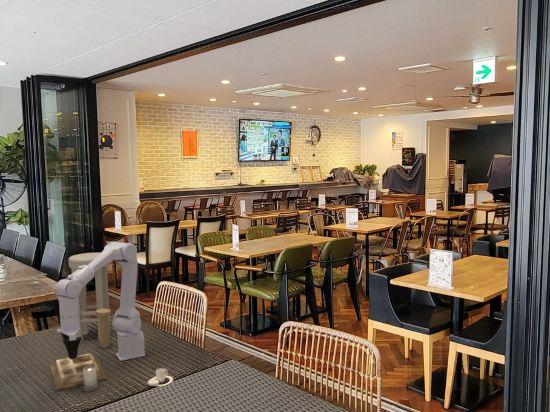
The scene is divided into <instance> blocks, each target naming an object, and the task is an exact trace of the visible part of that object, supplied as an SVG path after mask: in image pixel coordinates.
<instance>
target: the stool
mask: <svg viewBox="0 0 550 412" xmlns="http://www.w3.org/2000/svg"><path fill="white" fill-rule="evenodd" d="M100 253H101V252H85V253H79V254H74V255H71V256H69V258H68V268H70V270H71V274H72V273H74V272H75V271H76V270H77V269H78V267H79V266H82V265H89V264H90V263H91V262H92V261H93V260H94V259H95V258H96V257H97V256H98V255H99V254H100ZM110 262H111V261H109V262H108V263H107V264H105V265H104V266H103V267H101V268H100V269H99V270H97V271H96V272H95V275H94V278H95V279H94V280H95V295H96V296H95V297H96V304H92V305H91V304H88V298H87V297H88V296H87V284H86V285H84V286H83V288H82V289H81V292H80V294H79V296H78V313H79V326H80V330H79V331H78V333H77V334H76V338H77V337H81V338H82V339H81V342H80V343H82V342H83V341H84V335H89V332H90V331H89V328H90V327H89V323H94V322H97V335H98V337H97V338H98V342H100V337H99V316H97V315H96V310H98V309H110V303H109V301H110V300H109V283H108V265H110V264H111V263H110ZM88 309H96V310H91V311H90V310H89V311H88ZM89 316H97V317H93V318H91V317H90V318H89ZM110 318H111V317H110V315H109V316H108V323H109V331H110V332H111V322H110V321H111V319H110Z"/></svg>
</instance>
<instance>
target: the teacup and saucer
mask: <svg viewBox="0 0 550 412" xmlns="http://www.w3.org/2000/svg"><path fill="white" fill-rule="evenodd" d="M166 378H167V379H168V380H169V381H168V382H166V383H164V384H160V383H163V382H164V381H165V379H166ZM173 382H174V378H173V377H172V376H170V375H168V369H165V368H157V369H156V370H155V376H154V377H152V378H150V379H149V380H148V381H147V384H148V386H150V387H163V386H167V385H170V384H171V383H173Z"/></svg>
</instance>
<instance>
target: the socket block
mask: <svg viewBox="0 0 550 412" xmlns="http://www.w3.org/2000/svg"><path fill="white" fill-rule="evenodd" d="M87 366H96V375H97V383H98V382H103V381H107V380H108V376H107V375H106V373H105V371H104V368H103V367H102V365H101V362H100V361H99V359H98V358H97V355H94V356H93V354H92V353H91V352H89V353H85V354H82V355H81V354H80V355H77V358H75V359H69V357H66V358H62V359H61V358H60V359H56V362H55V364H49V369H50V371H51V372H50V373H51V376H52V379H53V384H54V388H55V391H56V392H58V391H59V392H60V391H63V390H68V389H72V388H77V387H80V386H84V378H83V368H84V367H87Z"/></svg>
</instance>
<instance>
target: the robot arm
mask: <svg viewBox="0 0 550 412" xmlns="http://www.w3.org/2000/svg"><path fill="white" fill-rule="evenodd" d="M103 248H104V249H103V250H102V251H101V252H99V253H100V254H99V255H98V256H97V257H96V258H95V259H94V260H93V261H92V262H91V263H90V264H89V265H82V266H79V267H78V269H77V270H76V271H75V272H74V273H72V272H71V274H69V275H67V278H64V279H63V278H62V279H60V280H59V281H58V282H57V283H56V285H55V288H54V289H53V291H54V294H55V295H56V296H57V301H58V305H59V319H60V328H57V329H56V333H60V336H61V337H62V343H63V344H64V345H65V349H66V351H67V354H68V358H69V359H75V358H77V356H78V352H79V347H80V344H81V343H82V342H81V339H82V338H81V337H77V338H76V334H77V333H78V331H79V330H80V326H79V313H78V296H79V294H80V292H81V289H82V288H83V286H84V285H86V286H87V284H89V282H90V281H91V280H93V279H94V278H95V272H96V271H97V270H99V269H100V268H101V267H103V266H104V265H105V264H107V263H108V262H109V261H110V262H111V261H116V262H117V263H118V264H120V266H121V267H122V269H121V285H120V297H119V298H120V302H119V303H120V304H119V307H118V309H117V310H116V311H115V312H114V318H113V320H112V325H111V326H112V328H113V330H115V333H116V334H117V350H118V352H115V355H116V357H117V358H118V361H120V362H122V361H126V360H131V359H132V360H133V359H137V358H140V357H141V358H142V357H145V356H146V351H145V349H146V347H145V337H144V336H145V335H144V332H143V331H142V330H141V327H142V319H141V313H140V312H139V311H138V310H137V308H136V297H137V296H136V294H137V278H138V264H139V262H138V257H137V256H138V247H136V246H135V244H133V243H131V242H118V241H110V242H108V244H106V245H105V246H104V247H103Z"/></svg>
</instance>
